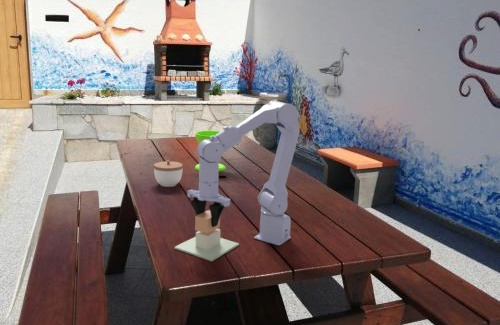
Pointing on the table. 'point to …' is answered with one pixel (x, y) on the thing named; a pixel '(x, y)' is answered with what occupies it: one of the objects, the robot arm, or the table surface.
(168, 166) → the lidded bowl
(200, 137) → the wineglass
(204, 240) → the cream brick
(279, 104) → the robot arm
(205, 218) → the tan brick
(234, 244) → the baseplate
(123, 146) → the table surface
